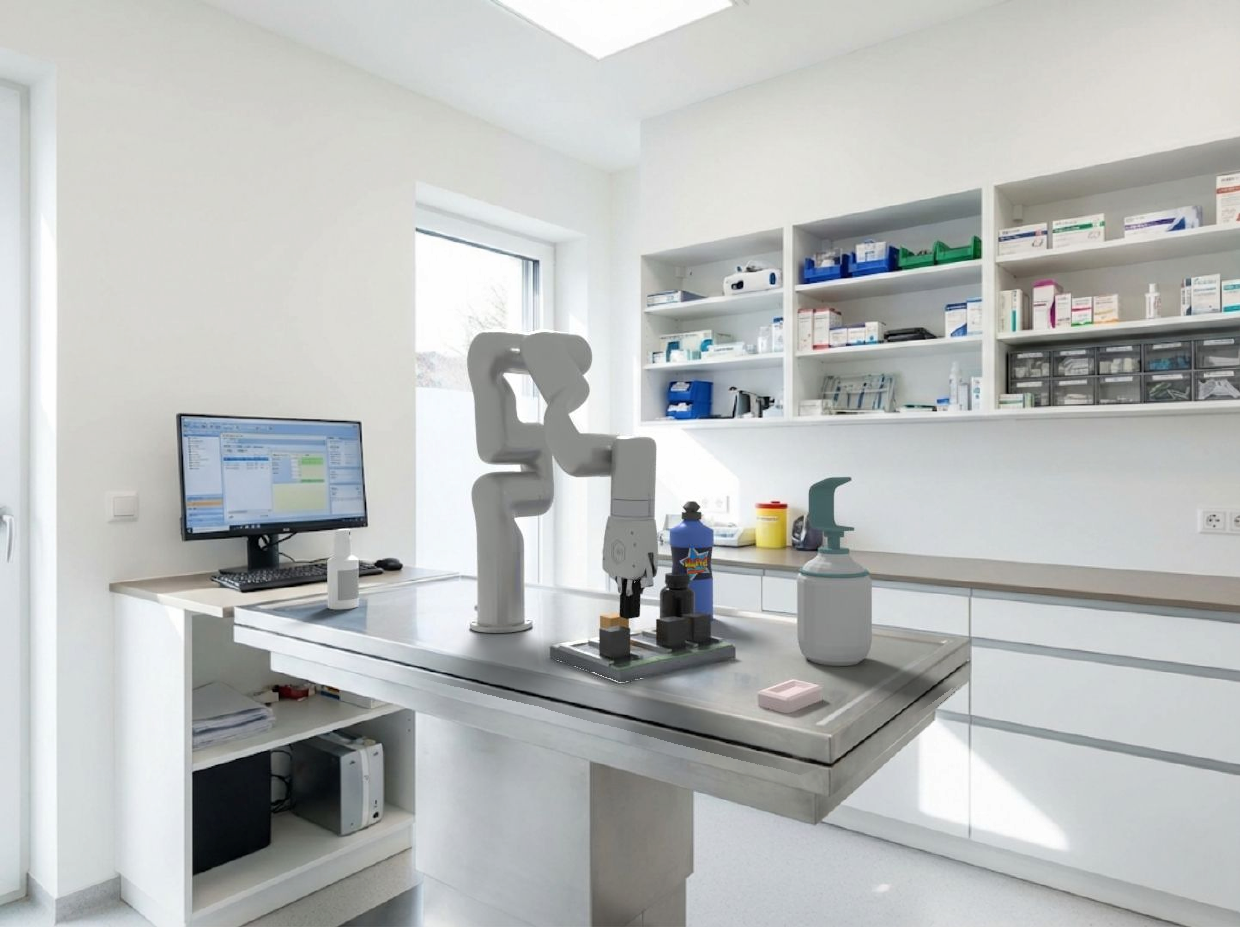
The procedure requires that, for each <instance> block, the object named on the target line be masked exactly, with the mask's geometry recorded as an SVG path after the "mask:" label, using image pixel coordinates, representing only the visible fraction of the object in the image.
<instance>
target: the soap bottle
mask: <svg viewBox="0 0 1240 927" xmlns="http://www.w3.org/2000/svg"><path fill="white" fill-rule="evenodd" d="M849 482H852V477H850V476H836V477H833V476H832V477H827V478H824V479H821V480H819V481H818V482H815V483H813V484H812V485H811V486H810V487H809V489H808V524H809V527H810V529H812V530H816V531H823V532H822V537H823V538H827V540H826V541H827V543H826V544H827V546H820V547H818V548H817V550H818V552H817V555H816V556H815V557H814V558H813V559H810V560H808V561H807V562H806V563H805V564H804V565H803V566H802V567H800V568H798V570H799V573H798V574H797V577H796V637H797V642H798V647H799V649H800V652H801V654H802V655H803V656H804V657H805V658H806V659H808V660H809V661H810V662H813V663H815V664H819V665H824V666H829V667H830V666H831V667H834V666H835V667H843V666H844V667H847V666H855V665H858V664H859V663H860V662H861V661H863V660H864V659H866V657H868V655H869V653H870V650H871V646H872V640H873V636H872V635H873V634H872V633H873V632H872V631H873V629H872V625H873V624H872V623H873V620H872V618H873V616H872V614H873V612H872V611H873V610H872V606H873V605H872V602H873V600H872V597H873V595H872V594H873V592H872V591H873V588H872V587H873V586H872V585H873V582H872V579H871V577H870V576H869V575H870V571H869V570H868V569H867V568H864V566H863V565H862V564H861V563H860V562H858V561H856V560H855V559H854V558H852V557H851V556H850V548H848V547H843V546H841V538H844V537H845V532H852V531H853V532H854V531H855V527H854V526H853V527H852V526H846V525H839V524H837V523H836V521H835V492H836V489H837V488H838V487H840V486H842V485H845V484H847V483H849Z"/></svg>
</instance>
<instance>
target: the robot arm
mask: <svg viewBox="0 0 1240 927" xmlns="http://www.w3.org/2000/svg"><path fill="white" fill-rule="evenodd" d="M467 351H468V352H467V358H466V363H467V364H466V367H467V374H468V379H469V382H470V386H471V389H472V395H473V402H474V423H475V440H476V441H475V442H476V449H477V450H476V451H477V455H478V457H479V459H480V460H481V461H482V462H484V463H485V464H486V465H487V464H488V465H492V466H493V465H494V466H495V465H496V466H520V467H519V469H520V471H513V470H512V471H511V470H510V471H509V470H508V471H492V472H491V471H490V472H486V473H485V474H482V475H480V476H479V477H478V478H477V479H475V481H474V483H473V484H472V487H471V495H470V496H471V503H472V509H473V512H474V513H473V514H474V520H475V527H476V564H477V565H476V567H477V568H476V570H477V571H476V573H477V574H476V576H477V577H476V582H477V583H476V589H477V593H476V594H477V595H476V596H477V597H476V598H477V599H476V600H477V602H476V603H477V604H475V605H474V608H473V609H474V611H475V612H477V614H476V615H477V618H475V619H473V620H470V622H469V628H470V629H471V630H472V631H475V632H479V633H487V634H503V633H504V634H505V633H515V632H522V631H525V630H528V629H530V628H532V626H533V620H532V619H531V618H530V617H527V616H525V615H526V614H525V612H526V610H525V604H526V603H525V539H524V536H523V533H522V531H521V529H520V527H519V525H518V523H517V522H516V520H515V519H516V518H529V517H538V516H542V515H544V514H547V513H548V512H549V511H550V509H551V508H552V506H553V503H554V499H555V498H554V496H555V481H554V480H555V479H554V478H555V477H554V463H553V459H554V460H555V462H556V463H557V465H558V466H559V468H560V469H561V470H562V471H563V472H564V473H565V474H567V475H568V476H571V477H574V478H596V477H599V478H604V477H606V478H607V477H609V478H610V506H609V507H610V509H609V510H610V511H609V512H610V513H609V514H610V515H608V517H607V520H606V525H605V528H604V529H605V530H604V536H603V546H602V558H601V560H602V570H603V571H604V572H605V573H606V574H608V577H609V578H611V579H612V580H613V581H615V583H616V585H617V592H618V593H619V613H620V614H619V616H620V617H622V618H625V619H629V620H631V619H635V618H636V619H637V618H639V617H640V616H641V595H643V594H644V590H645V589H646V588H651V587H654V586H655V585H654V578H655V577H656V576H657V574H658V569H659V568H658V567H659V543H658V542H659V541H658V539H659V538H658V530H657V529H658V527H657V523H656V519H655V516H656V482H657V481H656V480H657V478H656V476H657V443H656V441H655V439H653V438H652V437H650V436H641V435H639V436H636V435H635V436H633V435H631V436H630V435H629V436H628V435H621V434H617V433H616V434H615V433H590V432H587V433H585V432H584V433H583V432H582V433H581V432H579V430H578V429H577V427H576V425H575V424H574V422H573V421H572V419H571V416H570V415H569V414H571V413H573V412H575V411H576V410H578V409H579V408H580V407H581V406H583V404H584V403H585V402H586V401H587V400H588V398H589V395H590V391H591V390H590V384H589V383H588V381H587V379H586V378H585V376H584V375H586V374H587V372H588V371H589V370H590V368H591V367H592V362H593V353H592V349H591V346H590V344H589V342H588V341H587V340H586V339H585V337H583V336H581V335H579V334H576V333H570V332H566V331H565V332H564V331H555V330H549V329H538V330H535V331H531V332H523V331H516V330H510V329H487V330H483V331H481V332H479V333H478V334H476V336H474V338H473V339H472V341H471V342H470V345H469V347H468V350H467ZM504 374H513V375H514V374H515V375H524V376H525V375H528V376H530V377H531V379H532V381H533V382H534V385H535V386H536V387H537V390H538V391H539V393H540V395H541V397H542V398H543V400H544V402H545V404H546V408H545V412H544V416H543V423H541V422H540V421H538V420H534V419H521V418H519V417H518V410H517V396H516V394H515V391H514V390H513V388H512V385H511V383H510V382H509V381H508V380H507V379H506V378H505V376H504Z"/></svg>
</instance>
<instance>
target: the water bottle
mask: <svg viewBox="0 0 1240 927" xmlns="http://www.w3.org/2000/svg"><path fill="white" fill-rule="evenodd" d="M682 508H683V510H684V511H681V520H682V521H681V523H679V524H677V525H675V526H673V527H672V528H670V529H669V545H670V553H671V559H672V561H671V562H672V565H671V573H688V574H690V584H689V587H690V588H692V589H693V590H694V592H695V612H702V613H706V614H711V622H712V621H713V620H714V576H713V571H712V570H713V569H712V558H713V556H712V555H713V548H714V540H715V538H714V532H715V531H714V529H713V528H711V527H709V526H708V525H705V524H704V523H703V522H702V521H701V520H702V511H699V510H700V509H701V505H699V503H698V502H696V501H695V500H692V501H691V500H690V501H686V503H685V504H684V505H683V506H682Z"/></svg>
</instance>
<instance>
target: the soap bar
mask: <svg viewBox="0 0 1240 927" xmlns="http://www.w3.org/2000/svg"><path fill="white" fill-rule="evenodd" d="M821 701H823V687H822V686H821V685H820V684H815V683H813V682H807V681H803V680H798V679H794V678H793V679H790V680H786V681H784V682H781V683H777V684H775V685H773V686H770V687H768V688H767V687H766V688H764V689H761V690H759V691H757V706H758V707H761V708H764V709H768V708H769V709H768V710H772V709H773V711H777V712H779V713H783V714H791V712H792V713H794V712H796V710H797V711H799V710H801V709H803V708H805V707H806V708H807V707H808V705H809V706H811V705H813V703H814V704H816V703H819V702H821ZM800 708H801V709H800ZM798 709H799V710H798ZM793 711H794V712H793Z"/></svg>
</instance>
